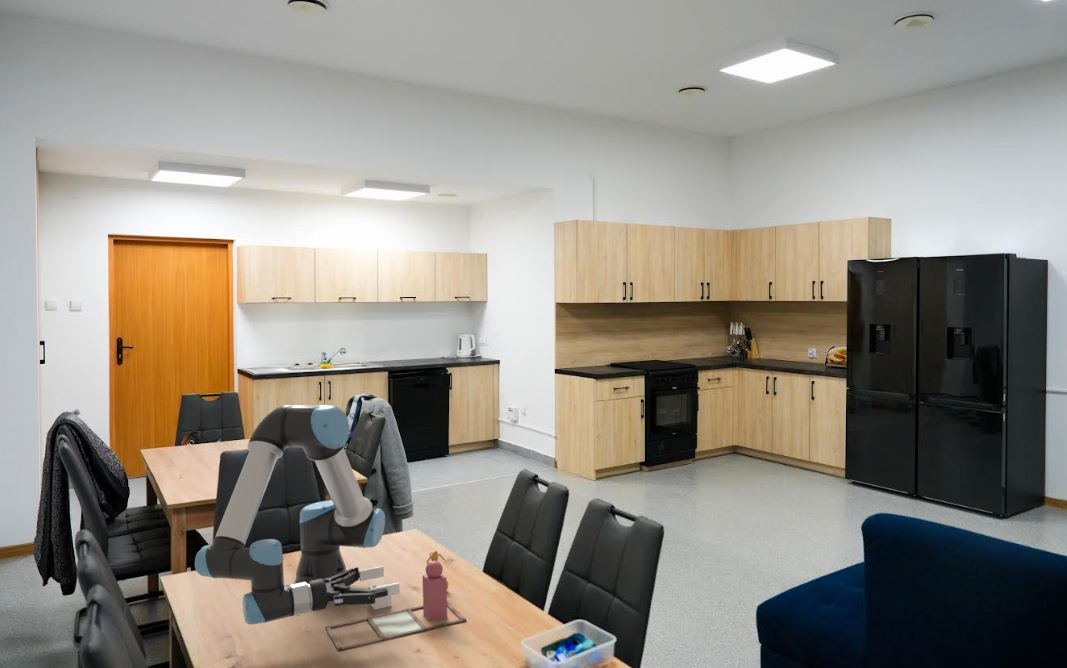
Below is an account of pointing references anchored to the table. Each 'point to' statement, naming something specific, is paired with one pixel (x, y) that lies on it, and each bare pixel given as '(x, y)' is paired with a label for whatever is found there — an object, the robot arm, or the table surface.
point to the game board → (393, 625)
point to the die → (381, 599)
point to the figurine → (434, 557)
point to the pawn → (434, 592)
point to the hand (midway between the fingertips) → (391, 579)
